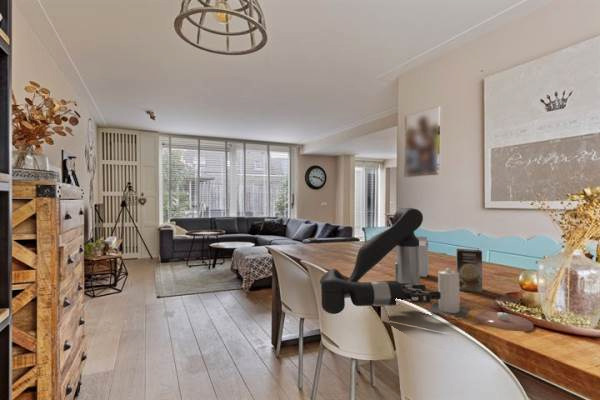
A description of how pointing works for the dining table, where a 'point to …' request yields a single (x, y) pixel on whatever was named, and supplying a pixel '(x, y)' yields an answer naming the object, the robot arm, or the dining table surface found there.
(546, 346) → the dining table surface
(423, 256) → the milk carton
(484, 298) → the dining table surface
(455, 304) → the cover
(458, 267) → the coffee box
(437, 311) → the cover mat
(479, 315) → the tea light plate
